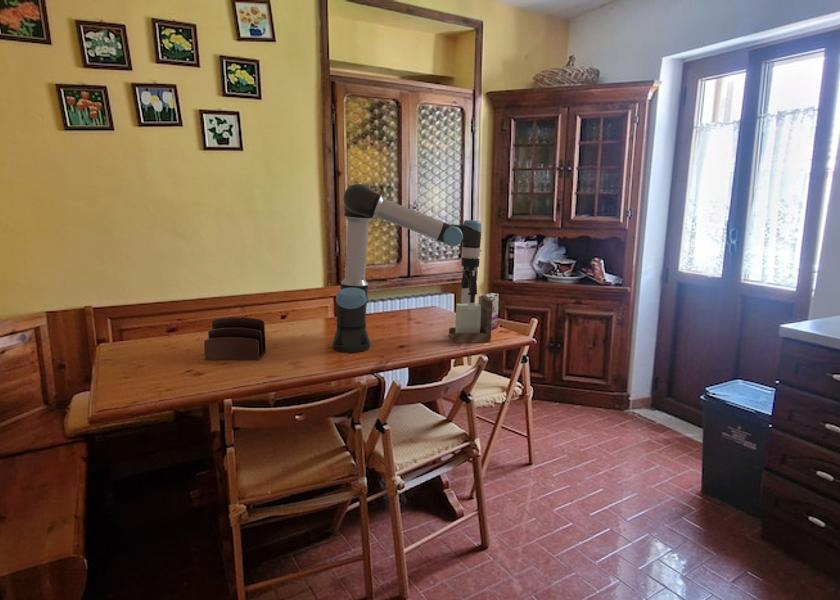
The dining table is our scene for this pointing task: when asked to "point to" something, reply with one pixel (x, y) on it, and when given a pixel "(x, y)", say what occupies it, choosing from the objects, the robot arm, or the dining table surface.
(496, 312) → the candy bar box
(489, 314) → the track
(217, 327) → the letter holder
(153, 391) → the dining table surface
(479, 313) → the door panel
